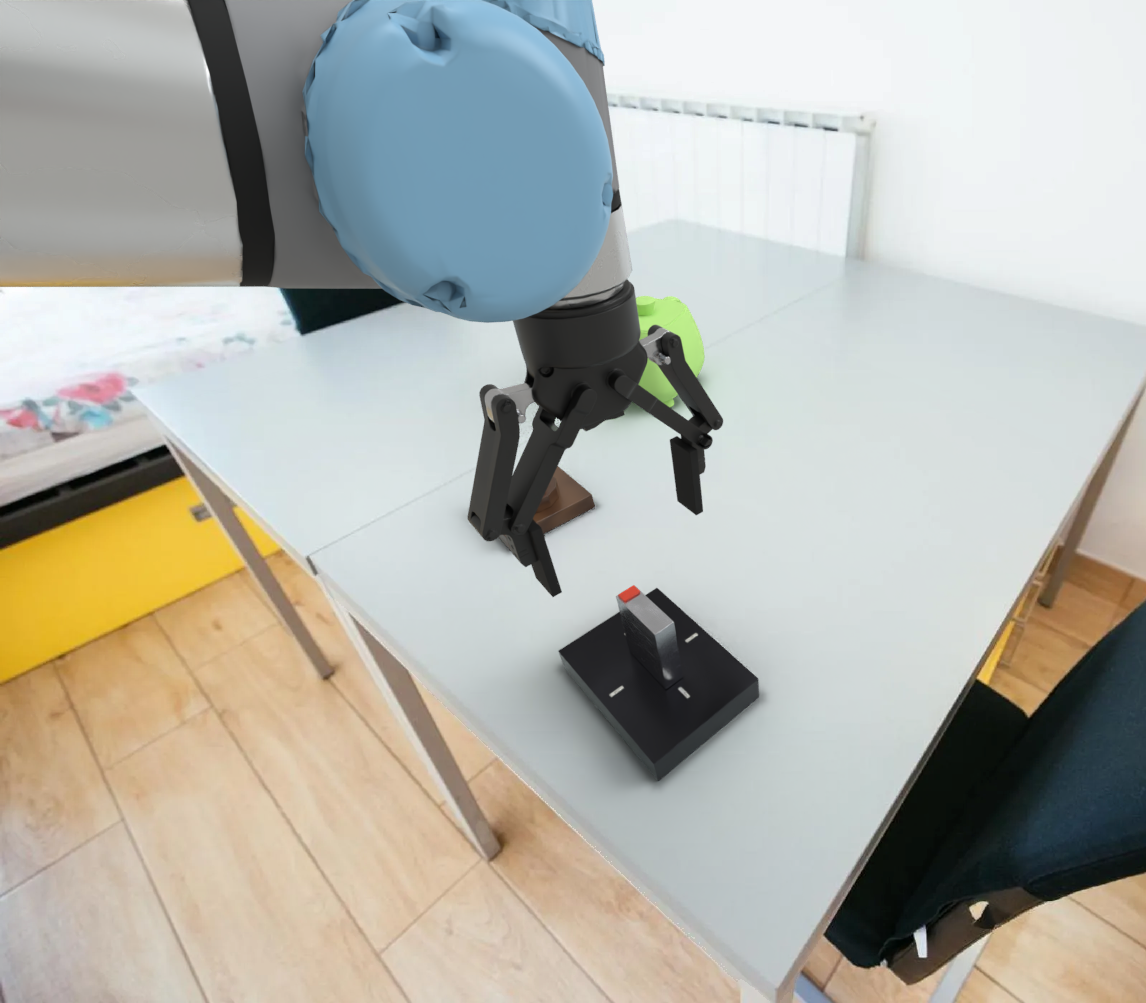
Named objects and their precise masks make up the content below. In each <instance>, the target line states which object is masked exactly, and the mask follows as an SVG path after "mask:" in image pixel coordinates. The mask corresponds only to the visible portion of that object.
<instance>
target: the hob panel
mask: <svg viewBox="0 0 1146 1003" xmlns="http://www.w3.org/2000/svg"><path fill="white" fill-rule="evenodd" d="M644 595H645V596H647V597H648V598H649V599H650V600H651V601H652V602H653V603H654V604H655V605H656V606H657V607H658V608H659V609H661V610H662V611H663V612H664V613H665V614H666V615H667V616H668V617H669V618H670V619H671V620H672V621H673V622H674V625H675V632H676V638H677V644H678V650H679V656H680V662H681V668H682V674H683V677H682V678H681V679H680V680H678V681H677V682H676V683H674V684H673V685H672V686H670V687H669V688H668V689H665V688H664V687H663V686H662V685H661V684H660V683H659V682H658V681H657V680H656V679H655V678H654V677H653V676H652V674H651V673H650V672H649V671H648V670H647V669H646V668H645V667H644V666H643V665H642V664H641V663H640V662H639V661H638V660H637V659H636V658H635V657H634V656H633V655H632V654H631V653H630V651H629V648H628V644H627V639H626V635H625V631H624V627H623V623H622V619H621V615H620V611H618V612H616V613H615V614H613V615H612V616H610V617H609V618H607V619H606V620H604V621H602V622H601V623H599V624H598V625H596V626H595V627H593V628H592V629H590V630H588V631H586V632H585V633H584V634H582V635H581V636H579V637H577V638H576V639H574V640H573V641H571V642H570V643H568V644H567V645H564V646H563V647H562V648H560V649H558V651H557V652H558V655H559V657H560V660H561V663H562V666H563V668H564V670H565V671H566V672H567V674H568V675H569V676H570V677H571V679H572V680H573V681H574V682H575V683H576V684H577V685H578V687H579V688H580V689H581V691H582V692H583V693H584V694H585V696H587V698H588V699H589V700H590V701H591V702H592V704H593V705H594V706H595V707H596V708H597V710H598V711H599V712H600V713H601V714H602V716H603V717H604V718H605V719H606V720H607V722H608V723H609V724H610V725H611V726H612V728H613V729H614V730H615V731H616V732H617V734H618V735H619V736H620V737H621V739H622V740H623V741H624V742H625V744H627V746H628V747H629V748H630V749H631V751H632V752H633V753H634V754H635V755H636V757H637V758H638V759H639V760H640V762H641V763H642V764H643V765H644V766H645V767H646V769H647V771H649V772H650V774H651V775H652V776H653V777H654V778H655V779H656V781H657V782H660V781H661V780H662V779H663V778H665V777H666V776H667V775H668V774H669V773H670V772H671V771H673V770H674V769H675V768H676V767H677V766H679V765H680V764H681V763H682V762H683V761H685V760H686V759H687V758H688V757H690V755H691V754H693V753H694V752H695V751H697V750H698V749H699V748H700V747H701V746H703V745H704V744H705V743H706V742H708V740H710V739H711V738H712V737H713V736H715V735H716V734H717V733H718V732H719V731H721V730H722V729H723V728H724V727H725V726H727V724H729V723H730V722H731V721H732V720H733V719H735V718H736V717H737V716H738V715H740V713H742V712H743V711H744V710H746V709H747V708H748V707H749V706H750V705H751V704H752V703H754V702H755V701H756V700H757V699H759V697H760V686H759V684H760V683H759V682H760V681H759V677H757V675H755V674H754V673H753V672H752V671H751V670H749V669H748V668H747V667H746V666H745V665H744V664H743V663H741V661H740V660H738V659H737V658H736V657H735V656H734V655H733V654H732V653H730V651H728V650H727V649H726V648H725V647H724V646H723V645H721V643H719V642H718V641H717V640H716V639H715V638H714V637H713V636H712V635H711V634H709V632H707V631H706V630H705V629H704V628H703V627H702V626H700V625H699V624H698V623H697V622H696V621H695V620H694V619H693V618H692V617H691V616H689V615H688V614H687V613H686V612H685V611H684V610H683V609H682V608H680V606H679V605H677V603H675V602H674V601H673V600H672V599H670V598H669V596H667V595H666V594H665V593H664V592H663V591H662V590H660V589H659V588H658V587H656V588H654V589H652V590H651V591H649V592H648V593H646V594H644Z"/></svg>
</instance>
